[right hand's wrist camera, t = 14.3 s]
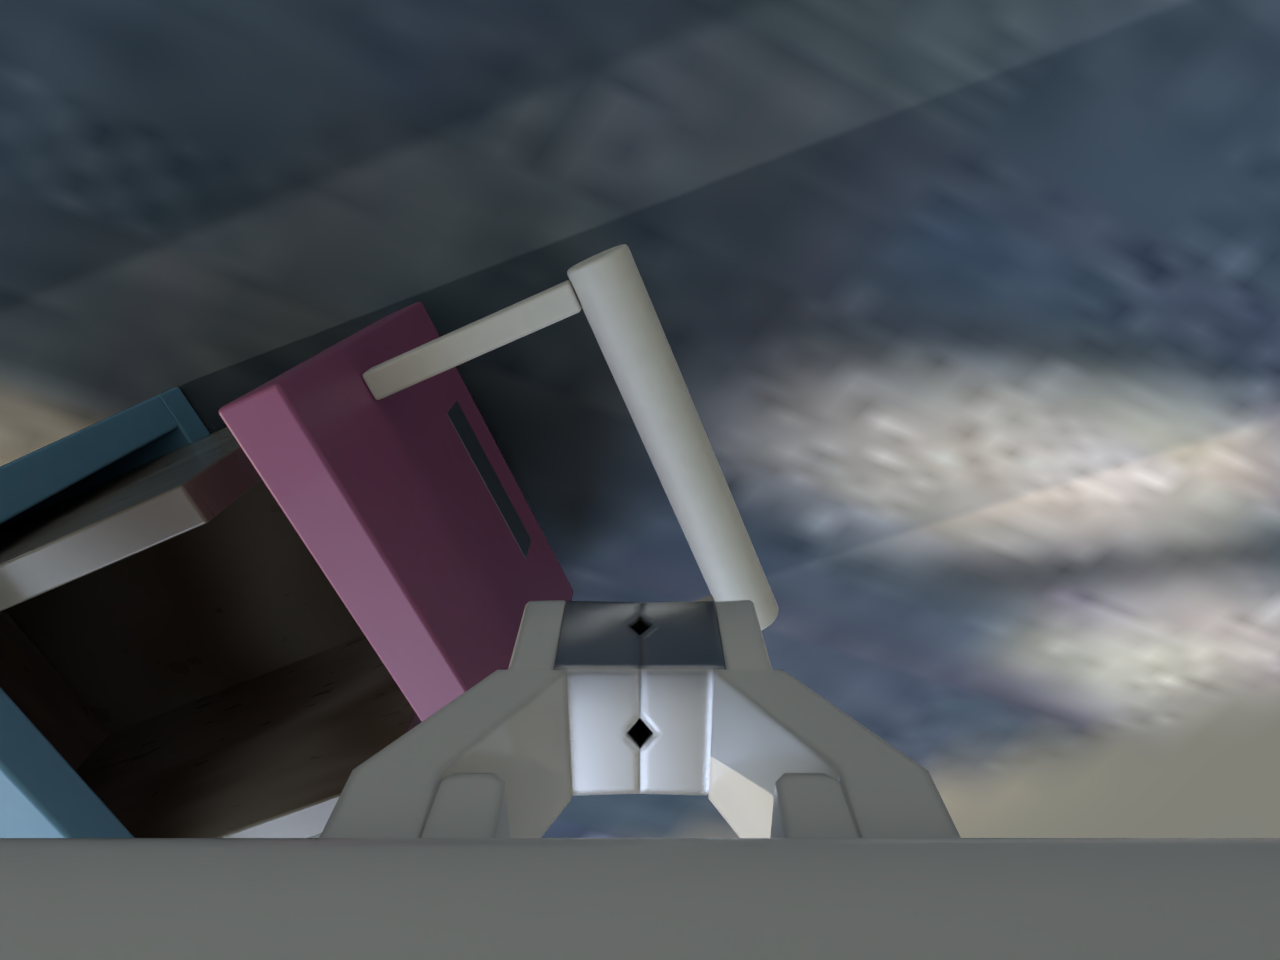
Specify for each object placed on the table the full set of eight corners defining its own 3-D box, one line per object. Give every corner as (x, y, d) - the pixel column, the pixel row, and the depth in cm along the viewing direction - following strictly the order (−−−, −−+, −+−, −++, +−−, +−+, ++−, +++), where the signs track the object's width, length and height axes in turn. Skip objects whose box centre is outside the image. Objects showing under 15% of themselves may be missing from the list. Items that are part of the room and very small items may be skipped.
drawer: (623, 207, 19) (611, 231, 11) (752, 523, 23) (815, 715, 15) (-54, 516, 23) (-439, 705, 15) (145, 753, 26) (-79, 1016, 18)
